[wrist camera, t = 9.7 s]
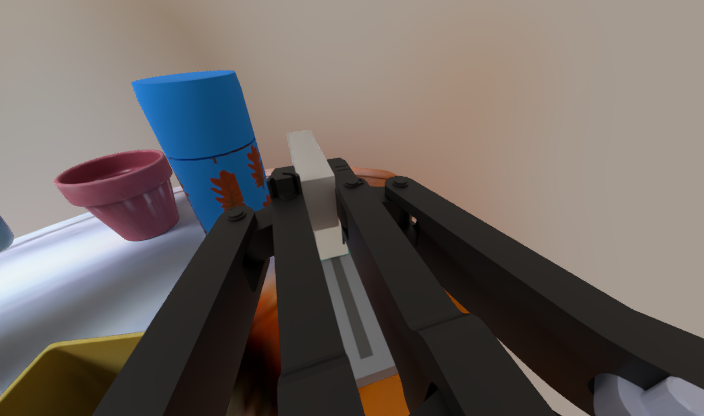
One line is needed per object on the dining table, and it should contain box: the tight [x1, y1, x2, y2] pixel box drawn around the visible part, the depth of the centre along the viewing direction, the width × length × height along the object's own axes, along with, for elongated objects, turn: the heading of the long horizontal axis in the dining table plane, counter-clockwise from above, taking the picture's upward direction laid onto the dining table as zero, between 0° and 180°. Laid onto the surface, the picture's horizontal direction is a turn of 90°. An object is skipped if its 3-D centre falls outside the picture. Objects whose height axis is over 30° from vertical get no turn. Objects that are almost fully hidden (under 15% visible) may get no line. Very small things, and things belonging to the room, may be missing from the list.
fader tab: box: [314, 220, 348, 260], centre depth 33 cm, size 3×4×13 cm
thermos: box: [132, 70, 271, 236], centre depth 35 cm, size 11×11×25 cm
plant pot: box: [54, 150, 179, 241], centre depth 44 cm, size 14×14×13 cm
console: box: [314, 233, 399, 388], centre depth 32 cm, size 22×9×2 cm, turn 16°
